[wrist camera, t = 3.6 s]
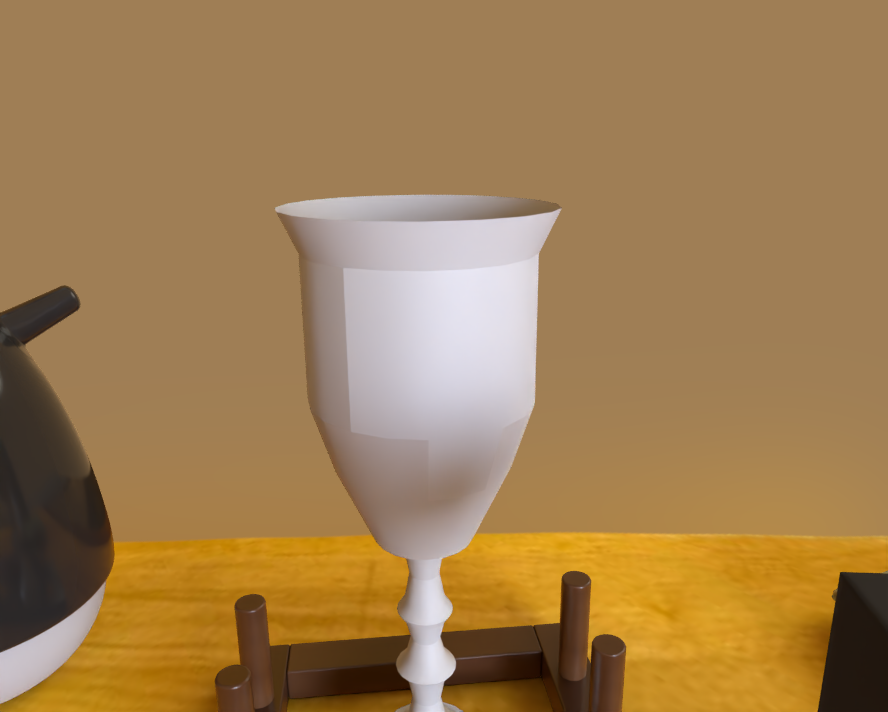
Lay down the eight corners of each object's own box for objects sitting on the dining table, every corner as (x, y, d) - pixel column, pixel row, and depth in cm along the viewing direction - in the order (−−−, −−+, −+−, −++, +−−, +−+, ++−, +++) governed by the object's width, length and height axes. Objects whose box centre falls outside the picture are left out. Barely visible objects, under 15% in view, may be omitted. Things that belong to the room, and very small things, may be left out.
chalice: (295, 743, 25) (252, 200, 20) (479, 688, 28) (480, 191, 23) (354, 953, 19) (311, 228, 14) (587, 857, 21) (624, 212, 16)
